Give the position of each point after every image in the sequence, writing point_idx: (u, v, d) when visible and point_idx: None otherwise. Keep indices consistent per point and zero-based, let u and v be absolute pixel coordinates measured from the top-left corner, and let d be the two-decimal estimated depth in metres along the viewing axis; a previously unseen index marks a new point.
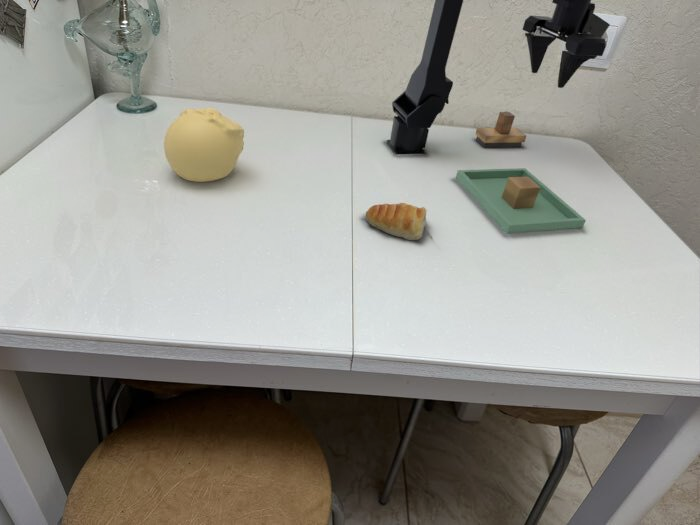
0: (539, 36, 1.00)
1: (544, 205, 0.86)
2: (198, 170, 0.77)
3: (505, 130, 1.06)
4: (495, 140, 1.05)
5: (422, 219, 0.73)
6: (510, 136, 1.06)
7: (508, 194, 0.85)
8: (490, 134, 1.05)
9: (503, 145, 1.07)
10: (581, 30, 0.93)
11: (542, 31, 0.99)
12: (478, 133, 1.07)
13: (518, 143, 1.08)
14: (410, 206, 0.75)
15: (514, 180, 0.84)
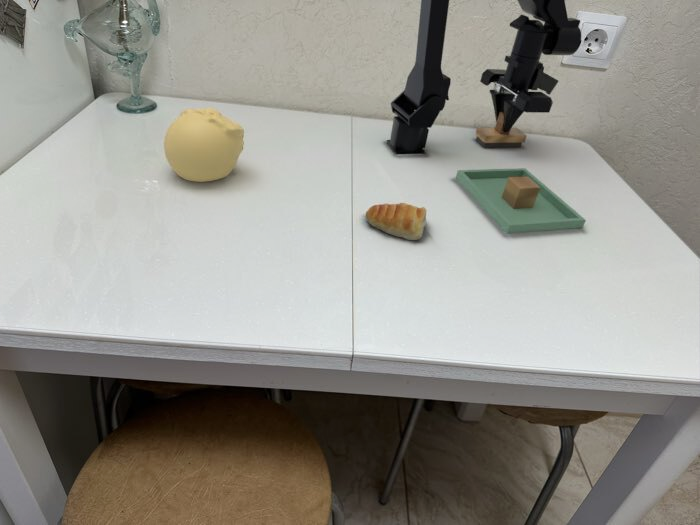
0: (502, 94, 1.04)
1: (544, 205, 0.86)
2: (198, 170, 0.77)
3: None
4: (495, 140, 1.05)
5: (422, 219, 0.73)
6: (510, 136, 1.06)
7: (508, 194, 0.85)
8: (490, 134, 1.05)
9: (503, 145, 1.07)
10: (531, 86, 0.99)
11: (505, 89, 1.03)
12: (478, 133, 1.07)
13: (518, 143, 1.08)
14: (410, 206, 0.75)
15: (514, 180, 0.84)
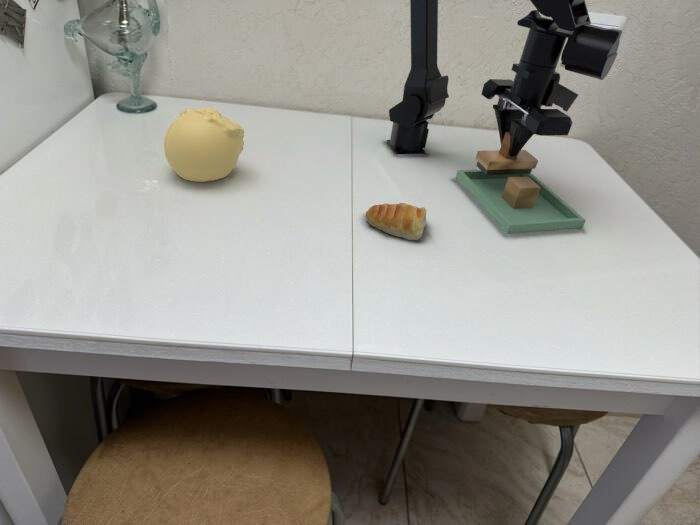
0: (509, 110, 0.84)
1: (544, 205, 0.86)
2: (198, 170, 0.77)
3: None
4: (500, 167, 0.86)
5: (422, 219, 0.73)
6: (518, 161, 0.86)
7: (508, 194, 0.85)
8: (494, 159, 0.86)
9: (509, 172, 0.88)
10: (545, 102, 0.80)
11: (512, 104, 0.84)
12: (479, 157, 0.87)
13: (528, 170, 0.89)
14: (410, 206, 0.75)
15: (514, 180, 0.84)
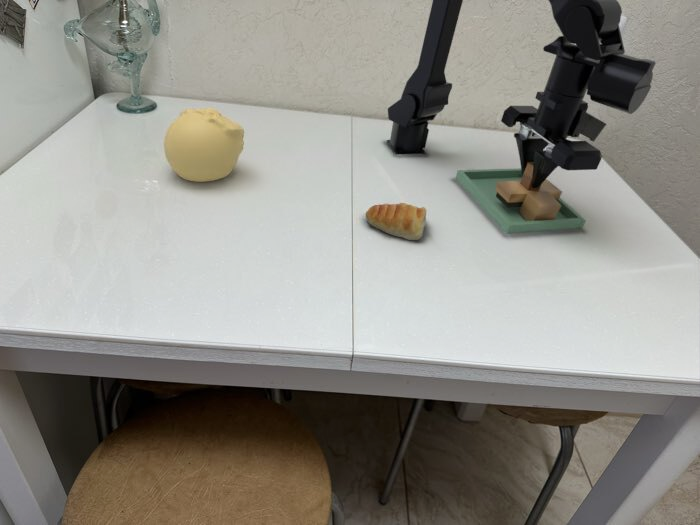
0: (531, 139, 0.80)
1: None
2: (198, 170, 0.77)
3: None
4: (522, 199, 0.81)
5: (422, 219, 0.73)
6: None
7: (526, 210, 0.81)
8: (515, 191, 0.81)
9: None
10: (571, 133, 0.75)
11: (535, 134, 0.79)
12: (499, 188, 0.83)
13: None
14: (410, 206, 0.75)
15: (534, 196, 0.79)
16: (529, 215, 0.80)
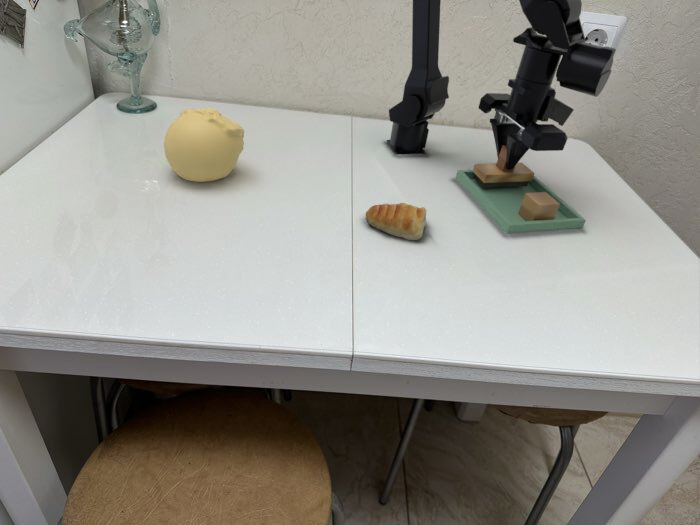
0: (505, 124, 0.86)
1: None
2: (198, 170, 0.77)
3: None
4: (497, 180, 0.87)
5: (422, 219, 0.73)
6: (514, 174, 0.88)
7: (525, 211, 0.81)
8: (491, 172, 0.87)
9: (506, 185, 0.89)
10: (540, 117, 0.81)
11: (509, 119, 0.85)
12: (476, 170, 0.89)
13: (525, 182, 0.90)
14: (410, 206, 0.75)
15: (532, 196, 0.80)
16: (528, 215, 0.80)
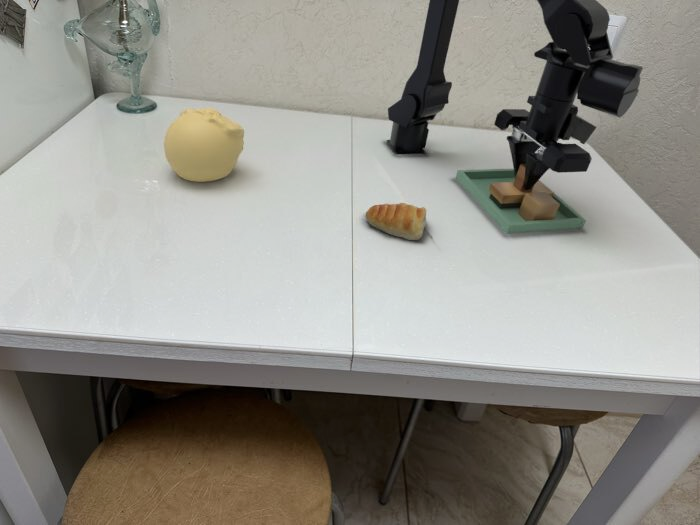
0: (524, 142, 0.81)
1: None
2: (198, 170, 0.77)
3: None
4: (514, 200, 0.83)
5: (422, 219, 0.73)
6: None
7: (525, 211, 0.81)
8: (508, 193, 0.83)
9: None
10: (562, 136, 0.77)
11: (527, 137, 0.81)
12: (493, 190, 0.84)
13: None
14: (410, 206, 0.75)
15: (532, 196, 0.80)
16: (528, 215, 0.80)
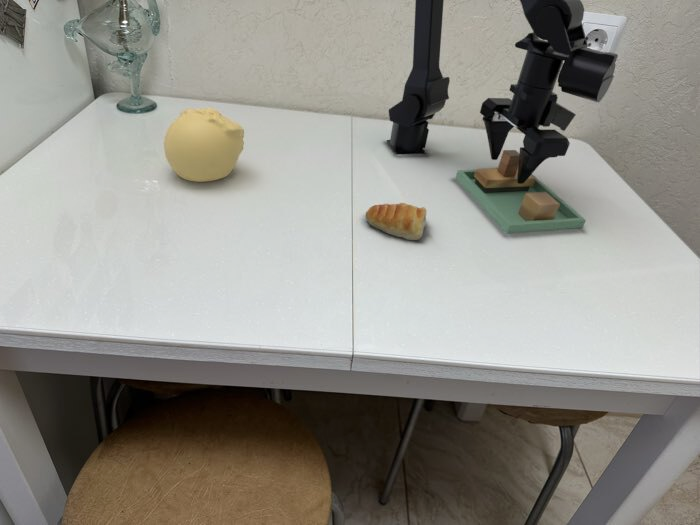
0: (498, 122, 0.88)
1: None
2: (198, 170, 0.77)
3: (510, 172, 0.87)
4: (498, 185, 0.87)
5: (422, 219, 0.73)
6: (515, 179, 0.87)
7: (525, 211, 0.81)
8: (492, 177, 0.87)
9: (507, 190, 0.89)
10: (542, 122, 0.81)
11: (501, 117, 0.87)
12: (478, 175, 0.88)
13: (526, 187, 0.90)
14: (410, 206, 0.75)
15: (532, 196, 0.80)
16: (528, 215, 0.80)
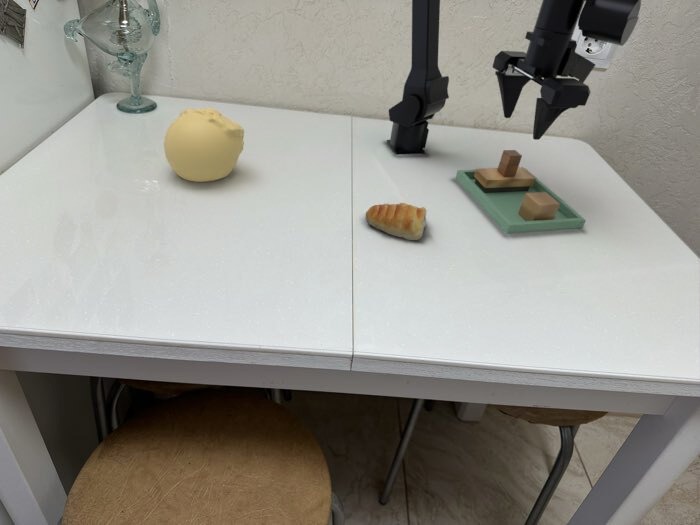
0: (512, 76, 0.83)
1: None
2: (198, 170, 0.77)
3: (510, 172, 0.87)
4: (498, 185, 0.87)
5: (422, 219, 0.73)
6: (515, 179, 0.87)
7: (525, 211, 0.81)
8: (492, 177, 0.87)
9: (507, 190, 0.89)
10: (560, 72, 0.76)
11: (515, 70, 0.82)
12: (478, 175, 0.88)
13: (526, 187, 0.90)
14: (410, 206, 0.75)
15: (532, 196, 0.80)
16: (528, 215, 0.80)
